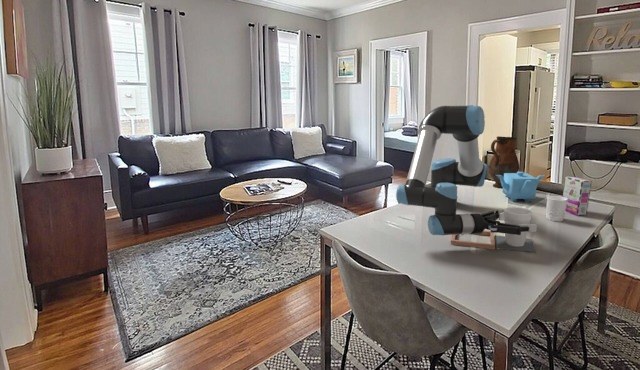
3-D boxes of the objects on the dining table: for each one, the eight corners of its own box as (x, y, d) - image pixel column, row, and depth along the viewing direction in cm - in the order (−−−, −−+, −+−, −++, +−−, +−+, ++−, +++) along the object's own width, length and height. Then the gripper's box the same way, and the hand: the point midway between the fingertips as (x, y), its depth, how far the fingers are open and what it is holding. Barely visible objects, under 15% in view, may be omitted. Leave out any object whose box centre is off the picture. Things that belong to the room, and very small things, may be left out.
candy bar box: (587, 215, 177) (592, 181, 173) (577, 216, 177) (582, 181, 173) (570, 208, 188) (574, 175, 184) (560, 209, 188) (564, 176, 184)
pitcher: (523, 186, 230) (528, 136, 223) (501, 192, 220) (506, 140, 213) (498, 181, 244) (502, 134, 237) (476, 186, 234) (480, 137, 227)
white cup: (567, 222, 169) (570, 200, 167) (548, 221, 171) (550, 200, 168) (560, 216, 176) (563, 195, 174) (541, 216, 178) (544, 195, 176)
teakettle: (509, 192, 219) (511, 167, 216) (544, 199, 205) (547, 172, 201) (492, 198, 208) (494, 172, 205) (527, 206, 194) (530, 177, 190)
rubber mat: (496, 248, 144) (496, 247, 144) (495, 236, 155) (495, 235, 155) (536, 252, 139) (536, 251, 139) (531, 240, 151) (531, 239, 151)
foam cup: (504, 237, 153) (507, 205, 150) (530, 241, 148) (533, 209, 145) (499, 244, 146) (502, 212, 143) (526, 250, 141) (530, 216, 137)
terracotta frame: (450, 244, 149) (451, 240, 148) (453, 230, 162) (453, 227, 162) (494, 249, 143) (494, 245, 143) (493, 235, 157) (493, 231, 156)
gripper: (456, 222, 157) (506, 220, 158) (485, 246, 133) (544, 243, 134) (457, 204, 155) (508, 202, 156) (486, 225, 131) (547, 222, 132)
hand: (525, 221), depth 145 cm, fingers open, 13 cm apart
